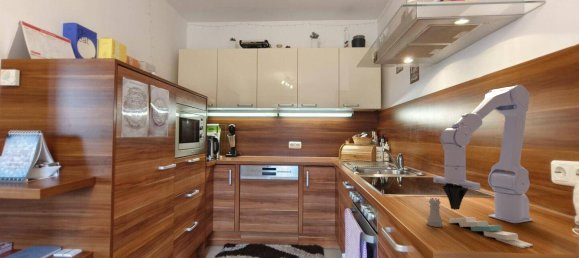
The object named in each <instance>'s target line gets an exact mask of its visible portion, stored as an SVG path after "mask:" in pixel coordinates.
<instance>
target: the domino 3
mask: <svg viewBox="0 0 579 258" xmlns="http://www.w3.org/2000/svg"><path fill="white" fill-rule="evenodd" d="M497 230H499V231H503V227H502V225H501V224H491V225H490V224H489V225H486V226H473V227H470V231H471V232H484V231H497Z"/></svg>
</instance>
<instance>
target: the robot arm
mask: <svg viewBox="0 0 579 258" xmlns="http://www.w3.org/2000/svg"><path fill="white" fill-rule="evenodd" d="M530 94H531V93H530V92H529V91H528V90H527V88H526V87H525V86H523V84H516V85H514V86H508V87H502V88H495V89H490V90H489V91H488V92H487V93H485V94H484V99H482V101H481V102H480V103H479V104H478V106H477V107H475V109H473V111H472V112H466V113H463V114H461V118H459V119H458V120H457V121H456V122H455V123H452V126H451V127H450V128H449V127H448V128H445V129H444V130H443V131H442V132H441V134H440V136H439V141H440V143H441V145H442V150H443V151H444V152H443V153H444V155H443V156H444V160H443V161H444V176H439V175H438V176H432V177H433V179H432V180H433V183H438V184H443V185H442V189H443V191H444V192H445V194H446V197H447V199H448V201H449V205H450V209H451V210H456V211H457V210H460V208H461V205H462V202H463V199H464V197H465V195H466V194H467V192H468V190H469V189H470V190H473V191H480V190H481V183H479V182H474V181H471V180H467V175H466V174H467V173H466V171H467V170H466V169H467V168H466V165H467V164H466V163H467V162H466V159H467V158H466V157H467V156H466V155H467V154H466V146H468V145H469V144H470V142H471V138H472V137H473V134H475V132H476V131H477V130H478V129H479V128H480V127H481V126H482V125H483V119H484V118H486V117H487V116H488V115H489V114H490V113H491V112H493V111H496V112H497V113H499V114H501V115H503V117H504V126H503V132H502V139H501V140H502V141H501V148H500V155H499V161H498V162H496V163H495V164H494V165H492V166H491V169H490V172H489V174H488V177H487V183H488V185H489V186H490V187H491V188H492V189H491V190H492V191H494V213H492V214H488V215H487V216H488V217H489V218H490V217H491V218H494V219H496V220H497V219H498V220H500V221H505V222H508V223H512V224H519V223H524V222H525V223H526V222H531V221H533V218H530V200H529V198H528V195H526V193H527V192H528V190H529V188H530V186H531V182H530V179H529V178H530V177H529V173H530V172H529V170H527V169H526V168H525V167H524V166H522V164H521V159H522V151H523V150H522V149H523V143H524V137H525V135H524V134H525V127H526V122H527V121H526V120H527V112H528V109H529V104H530V96H531V95H530ZM444 184H445V185H444Z"/></svg>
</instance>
